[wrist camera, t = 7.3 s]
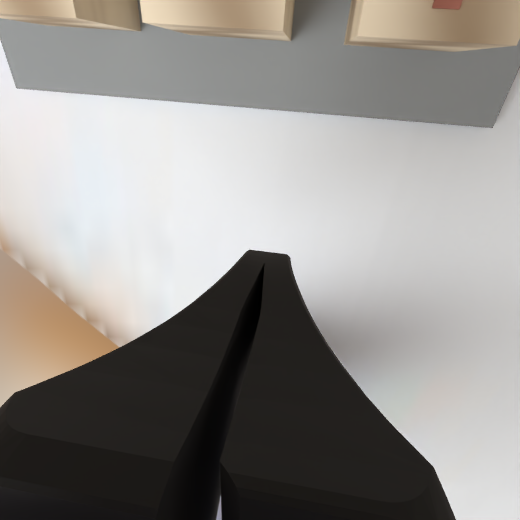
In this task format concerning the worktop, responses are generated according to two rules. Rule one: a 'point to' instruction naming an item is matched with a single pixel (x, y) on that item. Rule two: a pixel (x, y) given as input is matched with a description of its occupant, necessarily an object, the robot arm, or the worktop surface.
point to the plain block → (223, 17)
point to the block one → (434, 24)
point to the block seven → (75, 13)
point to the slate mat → (267, 69)
